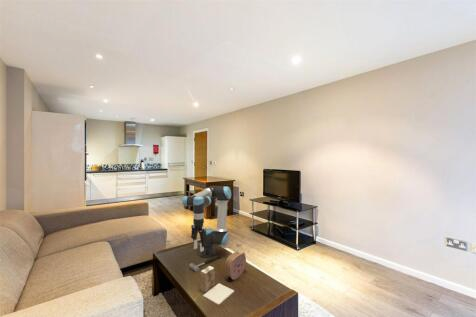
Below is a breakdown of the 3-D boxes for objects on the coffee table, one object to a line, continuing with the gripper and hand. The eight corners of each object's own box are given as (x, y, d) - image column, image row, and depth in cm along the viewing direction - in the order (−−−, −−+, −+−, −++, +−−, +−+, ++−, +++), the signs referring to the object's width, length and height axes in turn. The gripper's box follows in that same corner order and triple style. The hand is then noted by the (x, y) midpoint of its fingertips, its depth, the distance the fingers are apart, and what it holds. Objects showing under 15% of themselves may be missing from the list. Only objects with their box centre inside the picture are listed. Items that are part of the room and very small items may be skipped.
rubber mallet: (223, 255, 187) (195, 268, 166) (223, 259, 187) (195, 272, 166) (216, 252, 194) (189, 263, 172) (216, 256, 194) (189, 268, 172)
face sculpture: (231, 283, 151) (231, 260, 151) (224, 280, 155) (224, 258, 155) (246, 271, 167) (246, 250, 167) (239, 268, 171) (239, 248, 171)
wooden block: (209, 283, 151) (209, 265, 151) (214, 286, 148) (214, 267, 148) (200, 289, 144) (200, 271, 144) (205, 292, 141) (205, 273, 141)
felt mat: (219, 284, 150) (219, 283, 150) (234, 291, 142) (234, 290, 142) (203, 296, 138) (203, 295, 138) (218, 305, 129) (218, 304, 129)
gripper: (186, 217, 153) (186, 248, 154) (204, 222, 142) (204, 255, 142) (193, 214, 159) (193, 244, 160) (211, 219, 148) (211, 251, 148)
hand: (198, 249), depth 151 cm, fingers open, 6 cm apart
